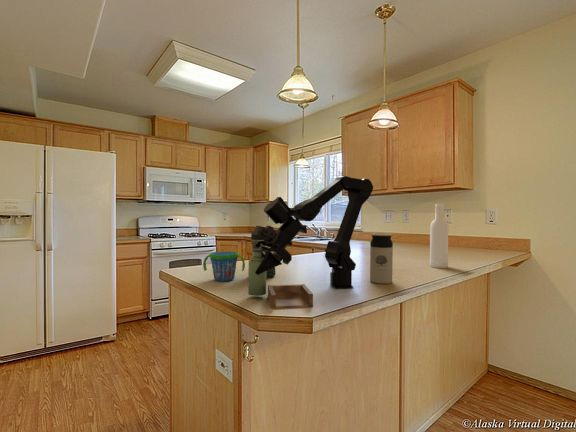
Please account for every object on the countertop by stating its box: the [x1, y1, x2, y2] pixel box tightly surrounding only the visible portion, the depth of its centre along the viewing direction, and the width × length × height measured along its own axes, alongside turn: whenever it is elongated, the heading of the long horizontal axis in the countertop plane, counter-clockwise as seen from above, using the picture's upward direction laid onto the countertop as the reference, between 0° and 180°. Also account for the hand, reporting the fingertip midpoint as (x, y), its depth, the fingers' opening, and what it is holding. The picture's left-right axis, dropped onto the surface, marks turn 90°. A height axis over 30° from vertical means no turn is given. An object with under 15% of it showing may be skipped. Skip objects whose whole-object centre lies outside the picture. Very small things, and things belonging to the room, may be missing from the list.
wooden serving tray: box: [267, 283, 314, 309], centre depth 90 cm, size 11×11×4 cm
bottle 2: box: [429, 203, 449, 269], centre depth 150 cm, size 8×8×30 cm
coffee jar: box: [250, 230, 276, 279], centre depth 125 cm, size 10×8×19 cm
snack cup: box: [202, 251, 246, 282], centre depth 119 cm, size 16×10×10 cm
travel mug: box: [369, 232, 394, 285], centre depth 117 cm, size 8×8×18 cm
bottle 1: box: [247, 248, 267, 297], centre depth 95 cm, size 5×5×13 cm
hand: (252, 272), depth 94 cm, fingers closed on bottle 1, 5 cm apart
